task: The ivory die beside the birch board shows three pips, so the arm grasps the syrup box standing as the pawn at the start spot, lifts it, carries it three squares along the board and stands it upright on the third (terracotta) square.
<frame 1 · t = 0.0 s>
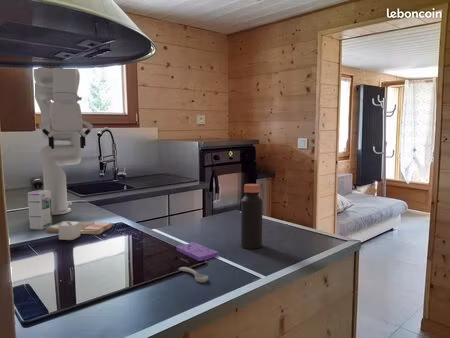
hand: (67, 148, 124), 31 cm above the counter, fingers open, 9 cm apart
sponges: (196, 255, 108), on the counter
spoon: (193, 277, 90), on the counter
board: (80, 229, 136), on the counter
syrup box: (41, 228, 138), on the counter
bottle: (251, 246, 114), on the counter
die: (69, 237, 125), on the counter
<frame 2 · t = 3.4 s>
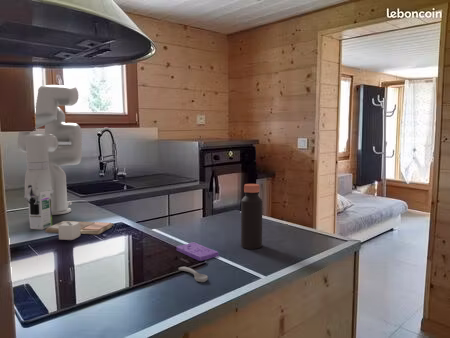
hand: (40, 212, 138), 6 cm above the counter, fingers closed on syrup box, 5 cm apart
syrup box: (41, 228, 138), on the counter, touching gripper
everything else where it was.
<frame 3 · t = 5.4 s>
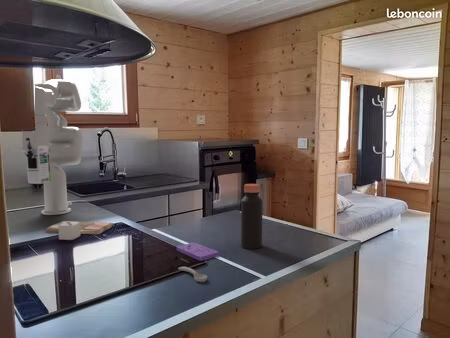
hand: (38, 167, 136), 24 cm above the counter, fingers closed on syrup box, 5 cm apart
syrup box: (39, 183, 137), point 17 cm above the counter, touching gripper
everything else where it was.
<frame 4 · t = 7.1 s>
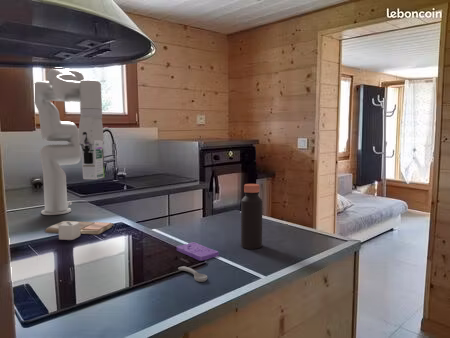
hand: (93, 162, 132), 26 cm above the counter, fingers closed on syrup box, 5 cm apart
syrup box: (93, 179, 133), point 19 cm above the counter, touching gripper
everything else where it was.
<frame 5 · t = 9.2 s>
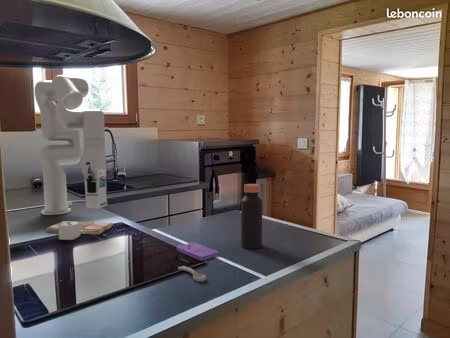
hand: (96, 191, 133), 15 cm above the counter, fingers closed on syrup box, 5 cm apart
syrup box: (96, 207, 134), point 9 cm above the counter, touching gripper
everything else where it was.
when the fingers open (9 cm above the counter, at t = 10.8 s): syrup box drops 1 cm, resting on board.
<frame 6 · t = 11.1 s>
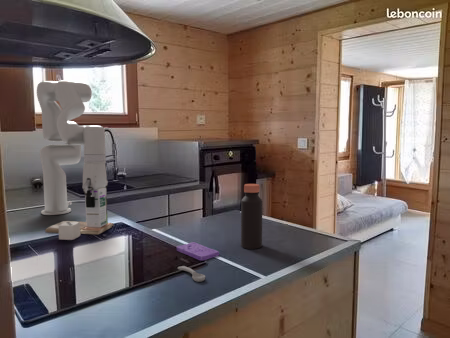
hand: (96, 204, 134), 10 cm above the counter, fingers open, 8 cm apart
syrup box: (97, 226, 134), point 1 cm above the counter, touching board
everything else where it was.
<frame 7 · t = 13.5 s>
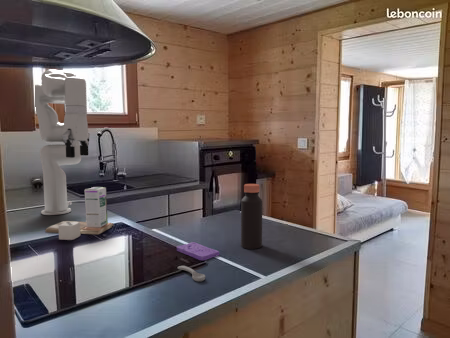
hand: (77, 156, 135), 28 cm above the counter, fingers open, 9 cm apart
nothing on the counter moved.
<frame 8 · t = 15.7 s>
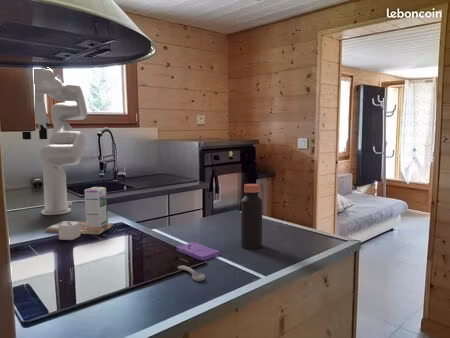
hand: (35, 139, 142), 34 cm above the counter, fingers open, 9 cm apart
at the end: syrup box 0.2 cm from the target spot, point 1.4 cm above the counter; syrup box tilted 0°; the gripper is holding nothing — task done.
